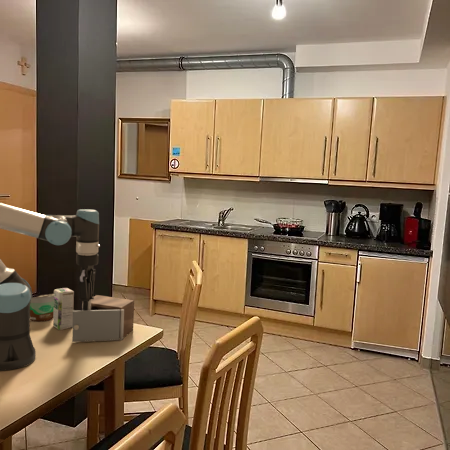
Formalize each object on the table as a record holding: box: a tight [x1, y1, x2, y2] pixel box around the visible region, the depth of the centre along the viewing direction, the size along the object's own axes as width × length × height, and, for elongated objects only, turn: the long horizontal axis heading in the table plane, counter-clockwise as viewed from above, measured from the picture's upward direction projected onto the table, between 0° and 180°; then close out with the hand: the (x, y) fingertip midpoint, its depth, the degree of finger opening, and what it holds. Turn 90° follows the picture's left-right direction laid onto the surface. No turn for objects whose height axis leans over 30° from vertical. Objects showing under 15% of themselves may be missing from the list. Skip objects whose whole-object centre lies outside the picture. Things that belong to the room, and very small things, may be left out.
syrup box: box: [52, 287, 75, 331], centre depth 172 cm, size 6×6×14 cm
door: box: [71, 309, 124, 343], centre depth 159 cm, size 17×2×11 cm, turn 105°
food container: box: [30, 292, 54, 323], centre depth 179 cm, size 12×6×10 cm, turn 143°
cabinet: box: [90, 294, 135, 340], centre depth 170 cm, size 16×10×12 cm, turn 75°
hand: (86, 317), depth 162 cm, fingers closed
